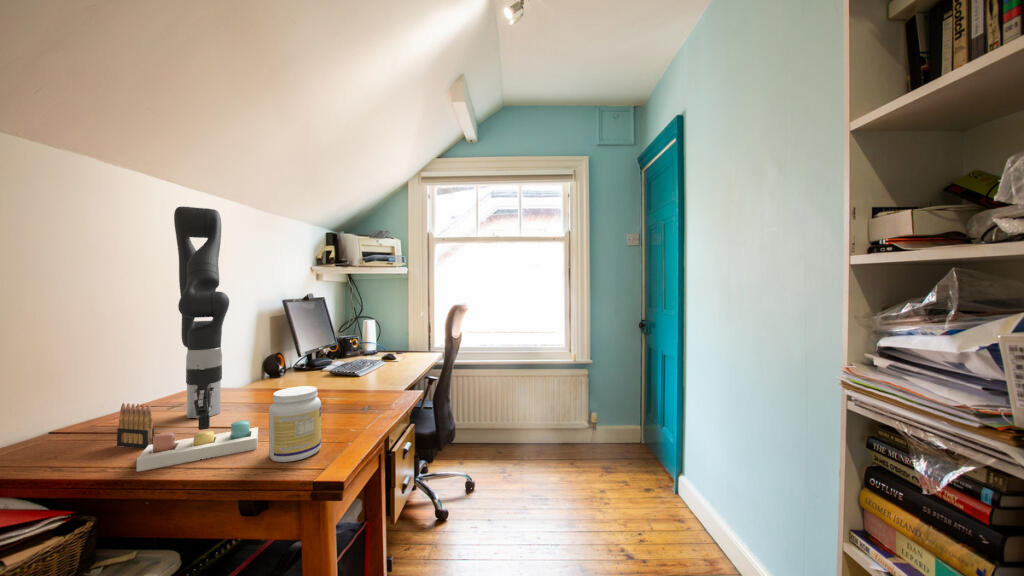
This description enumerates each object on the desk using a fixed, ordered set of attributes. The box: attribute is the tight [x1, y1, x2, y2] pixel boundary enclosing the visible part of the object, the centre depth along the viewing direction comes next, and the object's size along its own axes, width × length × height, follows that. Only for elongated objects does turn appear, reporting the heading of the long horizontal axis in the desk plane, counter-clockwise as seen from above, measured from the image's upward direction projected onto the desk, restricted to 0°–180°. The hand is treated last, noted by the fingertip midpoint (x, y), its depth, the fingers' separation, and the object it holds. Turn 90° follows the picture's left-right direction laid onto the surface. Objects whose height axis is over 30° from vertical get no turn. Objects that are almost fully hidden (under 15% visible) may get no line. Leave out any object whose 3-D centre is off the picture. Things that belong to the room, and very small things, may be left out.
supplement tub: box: [268, 385, 322, 463], centre depth 100 cm, size 12×12×17 cm
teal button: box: [230, 419, 250, 440], centre depth 105 cm, size 4×4×4 cm
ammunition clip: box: [116, 402, 155, 450], centre depth 105 cm, size 11×2×12 cm, turn 80°
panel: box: [136, 426, 259, 472], centre depth 101 cm, size 10×24×3 cm, turn 123°
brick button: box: [153, 431, 176, 453], centre depth 96 cm, size 4×4×4 cm
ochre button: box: [193, 430, 215, 446], centre depth 101 cm, size 4×4×4 cm
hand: (204, 428), depth 101 cm, fingers closed
